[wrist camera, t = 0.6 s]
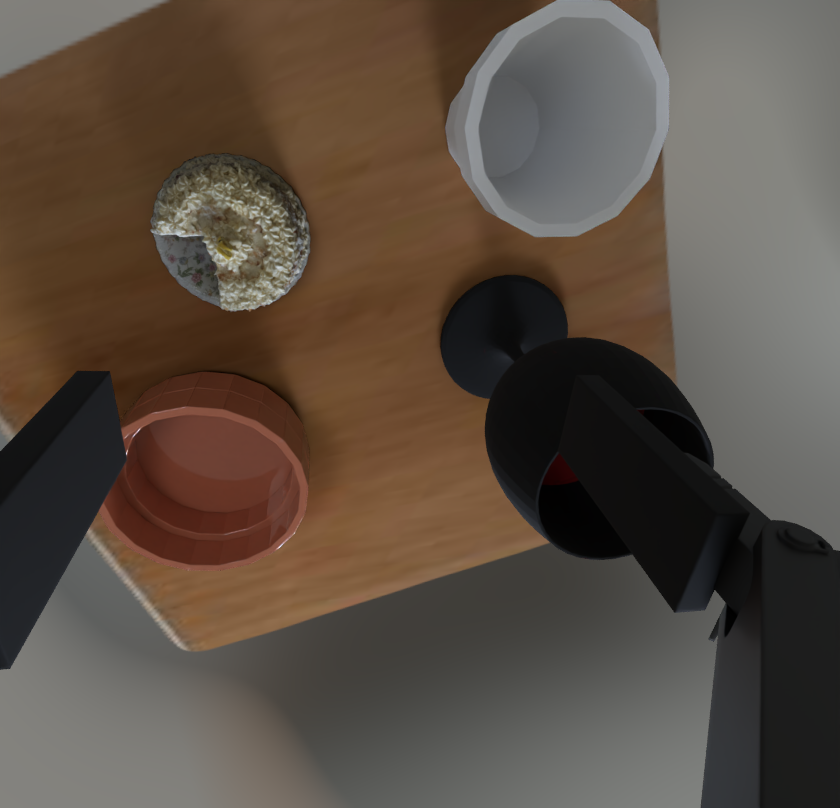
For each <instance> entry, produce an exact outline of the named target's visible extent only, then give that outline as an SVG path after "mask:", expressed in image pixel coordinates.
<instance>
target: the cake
mask: <svg viewBox="0 0 840 808" xmlns="http://www.w3.org/2000/svg"><path fill="white" fill-rule="evenodd" d="M153 209H154V211H153V212H154V213H153V216H152V218H151V224H152V227H153V228H154V229H151V232H152V233H153V236H154V238H155V241H156V248H157V250H158V252H159V254H160V256H161V260H162V262H163V263H164V264H165V265H166V267H167V269H168V271H169V273H170V274H171V275H172V276H173V277H174V278H176V280H177V282H178V283H179V284H180V285H181V286H183V287H184V288H186V289H187V290H188V291H189V292H190V293H191V294H193V295H196V296H198V298H200V299H201V300H203V301H207V302H210V303H211V304H213V305H216V306H220V307H221V308H222V309H225V310H226V311H228V310H231V311H230V312H232V311H233V310H234V311H236V310H244V309H246V310H249V312H250V311H251V310H252V309H255V310H256V308H258V307H259V306H263V307H265V305H267V304H271V303H272V302H273V301H276V300H277V299H279V298H280V297H281V296H282V295H285V294H286V293H288V291H289V290H290V288H291V287H293V286H294V285H296V283H297V281H298V279H299V278H300V277H301V275H302V274H301V273H303V270H304V268H305V266H306V264H307V261H308V255H309V253H310V242H311V241H310V239H311V238H310V233H309V222H308V220H307V218H306V211H305V210H304V208H303V207H302V205H301V203H300V199H299V198H298V197H297V196H296V194H294V192H293V190H292V187H291V186H289V185H288V184H287V183H286V182H284V180H283V179H282V178H281V177H280V176H279V175H277V174H275V173H274V172H273V171H272V170H271V169H270V168H269V167H268V166H267V167H266V166H263V165H261V163H259V162H258V161H256V160H253V159H248V158H246V157H243V156H241V155H240V156H235V155H231V154H228V153H224V154H221V155H220V154H219V155H215V154H208V155H205V156H201V157H198V158H196V157H194V158H193V159H189V160H188V161H187V162H186V161H184V162H183V164H182V165H181V166H180V168H177V169H175V170H173V172H172V173H171V175H170V177H169V178H167V179H166V180H164V183H163V185H162V189H161V190H159V192H158V193H157V200H156V201H155V204H154V206H153Z"/></svg>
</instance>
